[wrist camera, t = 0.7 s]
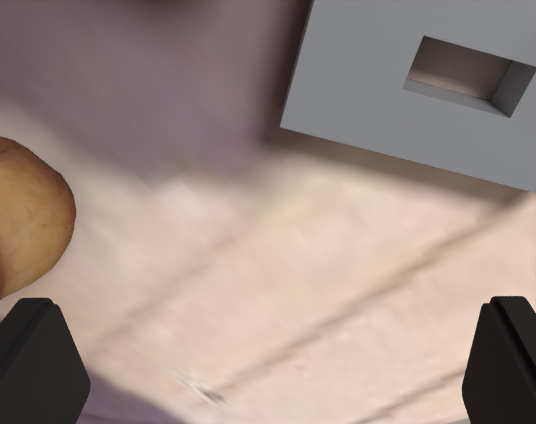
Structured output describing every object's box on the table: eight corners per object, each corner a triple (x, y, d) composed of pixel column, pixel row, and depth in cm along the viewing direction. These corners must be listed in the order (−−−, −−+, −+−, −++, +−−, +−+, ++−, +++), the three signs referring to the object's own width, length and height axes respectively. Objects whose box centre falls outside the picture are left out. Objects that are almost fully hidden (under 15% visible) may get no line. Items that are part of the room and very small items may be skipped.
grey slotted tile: (333, -82, 31) (337, -85, 27) (652, 11, 32) (694, 20, 29) (281, 110, 38) (279, 127, 35) (544, 178, 40) (567, 201, 36)
